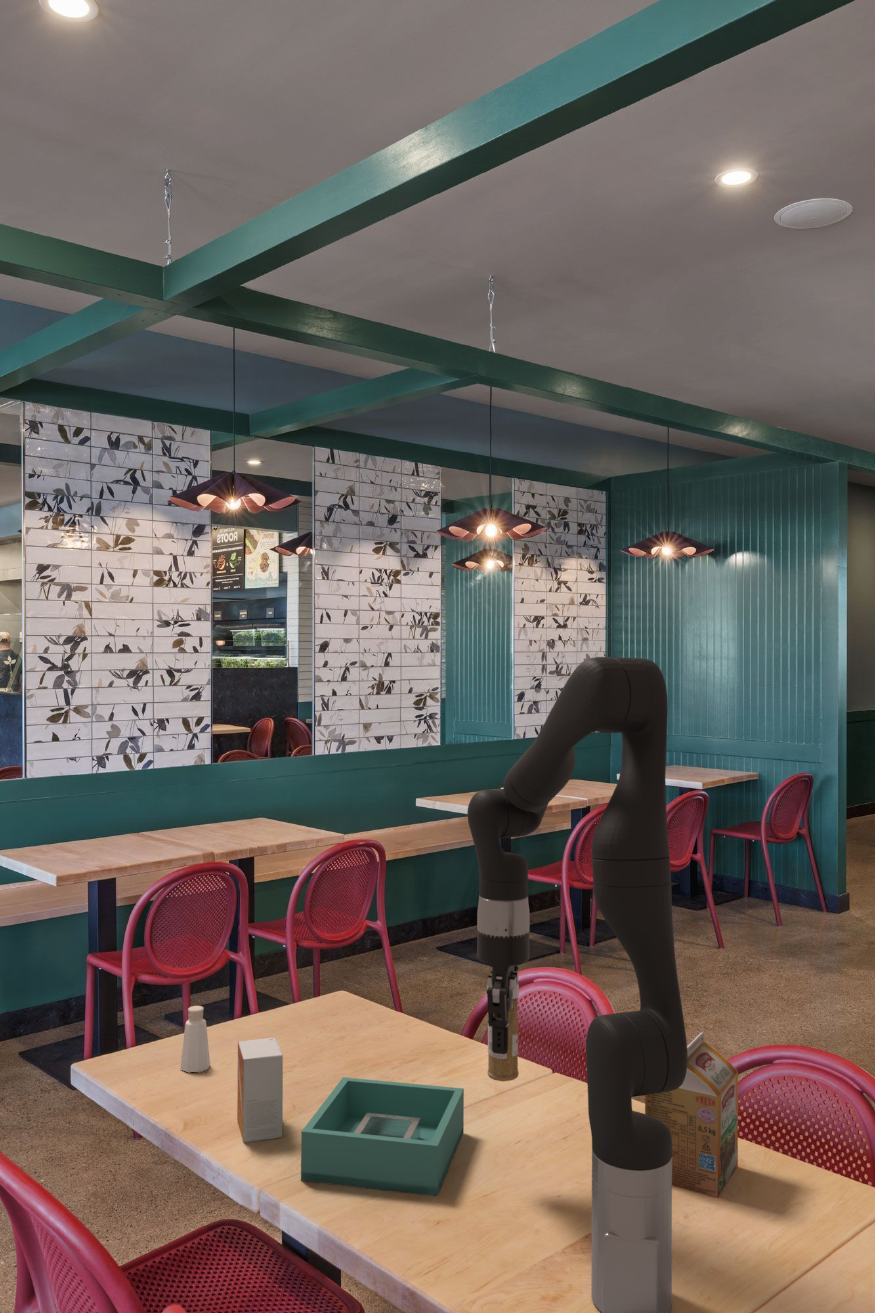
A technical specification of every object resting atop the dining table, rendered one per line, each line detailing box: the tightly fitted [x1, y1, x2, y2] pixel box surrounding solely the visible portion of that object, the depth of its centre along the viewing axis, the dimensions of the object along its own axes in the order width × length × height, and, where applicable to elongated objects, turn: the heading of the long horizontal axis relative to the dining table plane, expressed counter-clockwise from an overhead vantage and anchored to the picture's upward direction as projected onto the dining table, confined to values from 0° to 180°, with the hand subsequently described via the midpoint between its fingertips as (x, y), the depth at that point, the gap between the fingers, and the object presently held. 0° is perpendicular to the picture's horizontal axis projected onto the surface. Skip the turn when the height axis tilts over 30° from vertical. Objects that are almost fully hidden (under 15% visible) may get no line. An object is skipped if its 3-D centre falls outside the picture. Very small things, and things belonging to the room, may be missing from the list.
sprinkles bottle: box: [486, 982, 520, 1082], centre depth 147 cm, size 5×5×13 cm
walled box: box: [300, 1076, 465, 1197], centre depth 154 cm, size 20×20×7 cm
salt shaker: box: [179, 1005, 211, 1074], centre depth 187 cm, size 5×5×11 cm
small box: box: [236, 1037, 284, 1143], centre depth 162 cm, size 8×6×13 cm
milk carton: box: [644, 1031, 739, 1199], centre depth 149 cm, size 10×11×19 cm
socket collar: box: [354, 1113, 421, 1140], centre depth 154 cm, size 9×9×3 cm
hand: (502, 1045), depth 147 cm, fingers closed on sprinkles bottle, 4 cm apart
